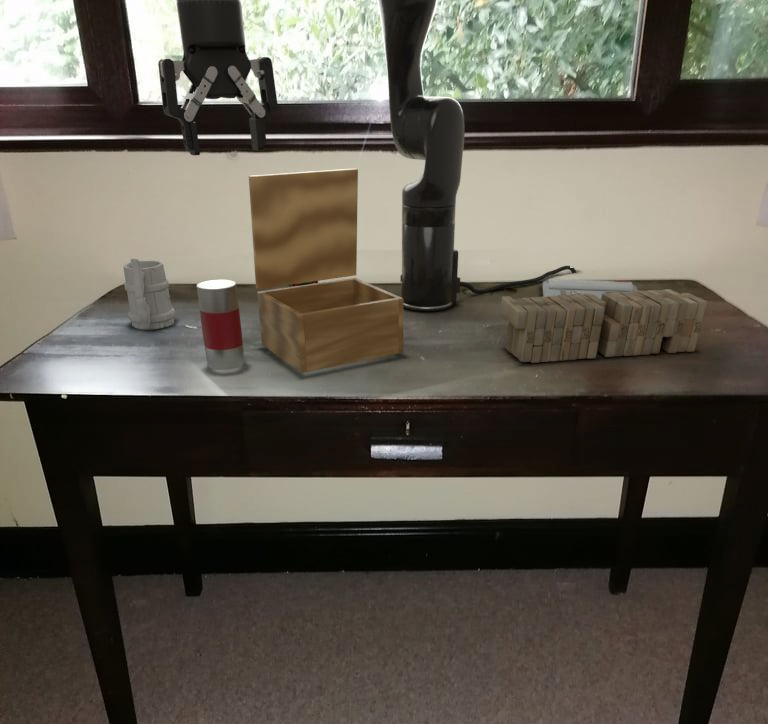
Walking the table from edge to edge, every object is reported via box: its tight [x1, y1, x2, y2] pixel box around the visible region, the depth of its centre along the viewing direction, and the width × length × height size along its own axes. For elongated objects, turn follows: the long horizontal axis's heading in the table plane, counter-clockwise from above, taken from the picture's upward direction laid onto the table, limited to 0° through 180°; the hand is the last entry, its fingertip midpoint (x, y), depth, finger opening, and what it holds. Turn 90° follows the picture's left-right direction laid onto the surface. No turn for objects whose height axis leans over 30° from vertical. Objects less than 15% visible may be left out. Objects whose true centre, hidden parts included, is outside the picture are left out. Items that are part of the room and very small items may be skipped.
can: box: [196, 279, 246, 371], centre depth 102 cm, size 5×5×12 cm
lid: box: [248, 167, 359, 290], centre depth 108 cm, size 15×17×5 cm
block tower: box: [499, 288, 708, 364], centre depth 108 cm, size 8×8×29 cm
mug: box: [122, 258, 176, 331], centre depth 119 cm, size 8×12×12 cm, turn 7°
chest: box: [256, 277, 404, 374], centre depth 108 cm, size 15×17×9 cm
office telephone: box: [542, 278, 639, 299], centre depth 132 cm, size 23×3×20 cm
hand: (227, 152), depth 94 cm, fingers open, 8 cm apart
